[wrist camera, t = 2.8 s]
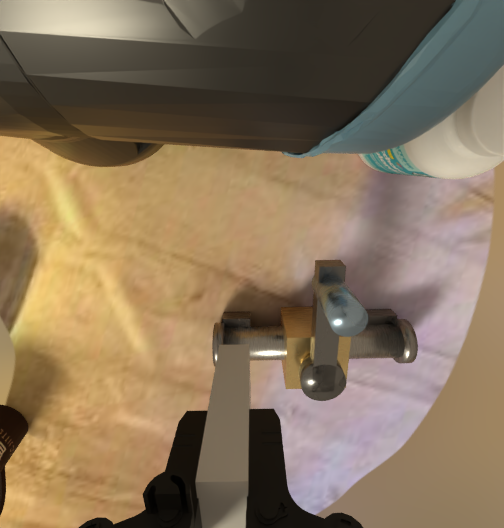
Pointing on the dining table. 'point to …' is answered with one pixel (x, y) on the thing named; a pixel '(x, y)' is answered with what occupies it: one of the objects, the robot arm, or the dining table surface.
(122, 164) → the robot arm
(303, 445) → the dining table surface
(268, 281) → the dining table surface
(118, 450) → the dining table surface
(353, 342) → the pipe valve
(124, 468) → the dining table surface
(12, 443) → the coffee mug
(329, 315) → the lever
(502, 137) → the pill bottle
